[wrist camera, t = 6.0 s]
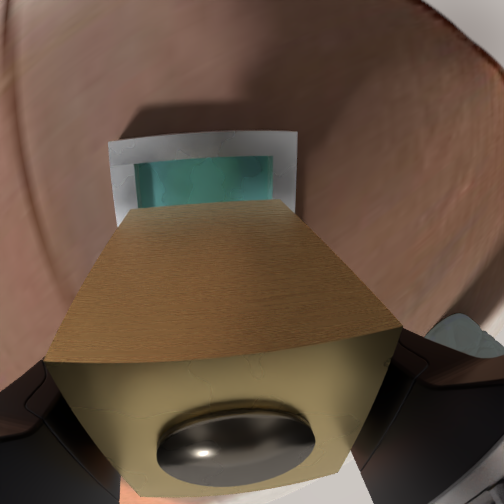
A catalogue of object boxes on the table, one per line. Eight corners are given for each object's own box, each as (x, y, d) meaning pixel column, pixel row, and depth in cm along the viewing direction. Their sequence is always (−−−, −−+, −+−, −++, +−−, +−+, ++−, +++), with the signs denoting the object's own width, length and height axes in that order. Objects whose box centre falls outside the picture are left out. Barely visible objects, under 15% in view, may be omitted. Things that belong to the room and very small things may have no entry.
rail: (272, 409, 25) (277, 425, 23) (174, 418, 24) (174, 436, 22) (285, 130, 16) (297, 131, 14) (118, 139, 14) (108, 142, 12)
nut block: (275, 320, 12) (340, 478, 6) (152, 331, 11) (139, 502, 5) (279, 199, 10) (409, 333, 4) (130, 209, 9) (38, 371, 3)
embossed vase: (482, 319, 27) (544, 381, 16) (431, 383, 30) (479, 451, 19) (447, 296, 24) (530, 377, 13) (384, 377, 27) (441, 467, 16)
